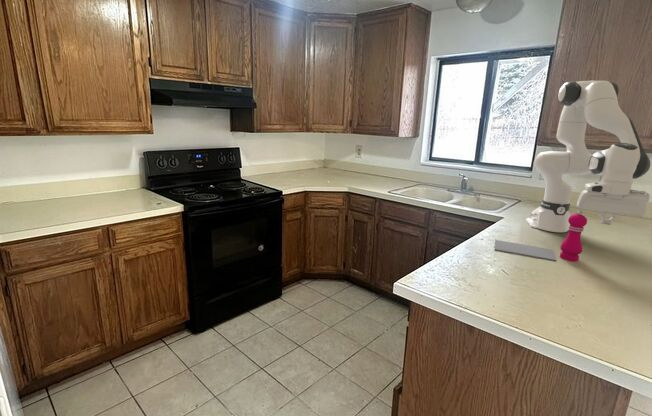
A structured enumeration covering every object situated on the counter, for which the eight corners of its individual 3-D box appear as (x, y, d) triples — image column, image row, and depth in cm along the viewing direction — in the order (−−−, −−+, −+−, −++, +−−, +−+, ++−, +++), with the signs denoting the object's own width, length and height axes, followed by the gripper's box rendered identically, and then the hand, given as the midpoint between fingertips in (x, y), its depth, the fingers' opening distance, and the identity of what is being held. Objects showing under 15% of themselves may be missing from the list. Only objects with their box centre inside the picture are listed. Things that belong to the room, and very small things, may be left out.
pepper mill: (557, 253, 145) (568, 207, 140) (578, 257, 141) (590, 210, 136) (558, 259, 139) (569, 210, 134) (580, 263, 135) (592, 214, 130)
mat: (552, 250, 148) (552, 249, 148) (556, 261, 137) (556, 260, 137) (495, 241, 157) (495, 239, 157) (494, 250, 146) (494, 249, 146)
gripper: (647, 190, 127) (637, 226, 131) (580, 183, 136) (572, 217, 139) (654, 193, 122) (643, 231, 125) (583, 186, 130) (575, 221, 134)
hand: (605, 223), depth 132 cm, fingers closed
